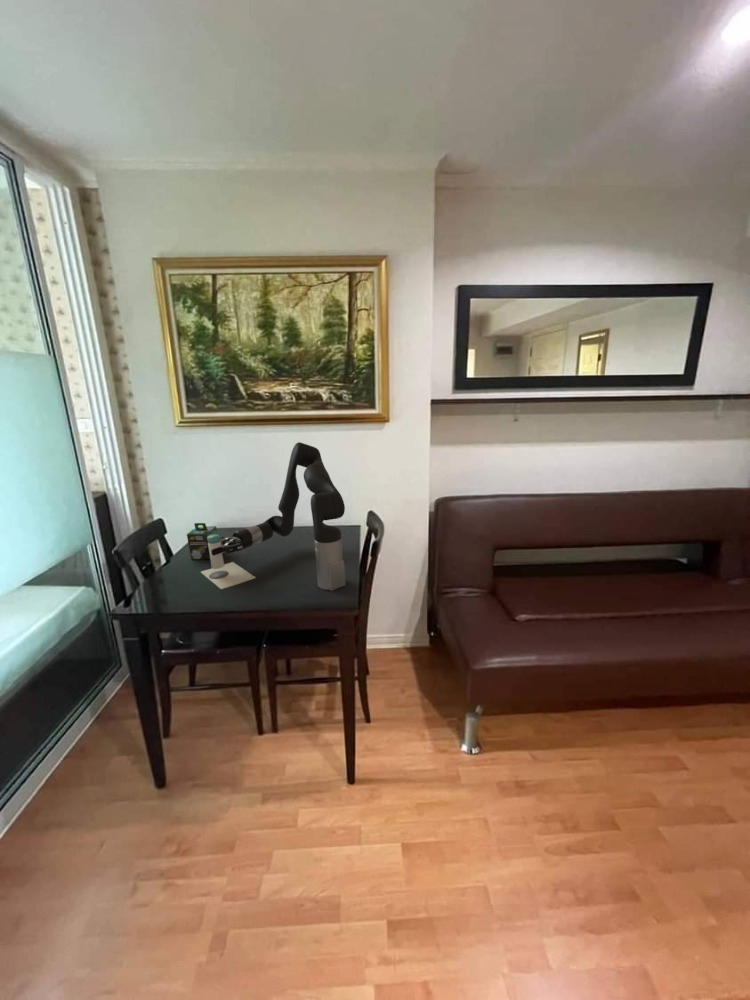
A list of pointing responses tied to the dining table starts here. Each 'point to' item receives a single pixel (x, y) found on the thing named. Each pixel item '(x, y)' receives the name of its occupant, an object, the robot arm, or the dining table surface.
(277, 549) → the dining table surface
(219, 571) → the paper
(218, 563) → the white bottle
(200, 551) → the chalk box
